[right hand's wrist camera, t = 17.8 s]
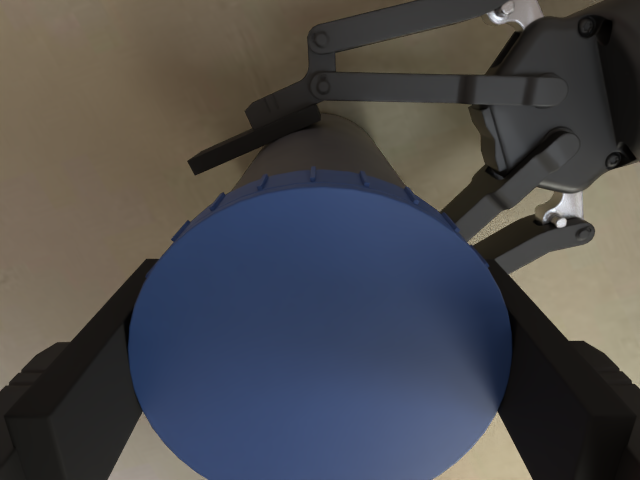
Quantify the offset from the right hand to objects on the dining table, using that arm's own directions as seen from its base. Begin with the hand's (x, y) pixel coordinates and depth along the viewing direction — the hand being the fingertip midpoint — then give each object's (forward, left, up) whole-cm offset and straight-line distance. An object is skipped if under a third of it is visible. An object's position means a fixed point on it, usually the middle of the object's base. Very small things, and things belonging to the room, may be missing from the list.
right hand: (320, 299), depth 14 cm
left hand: (+4, +3, -10) cm, 11 cm away
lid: (0, 0, +3) cm, 3 cm away
